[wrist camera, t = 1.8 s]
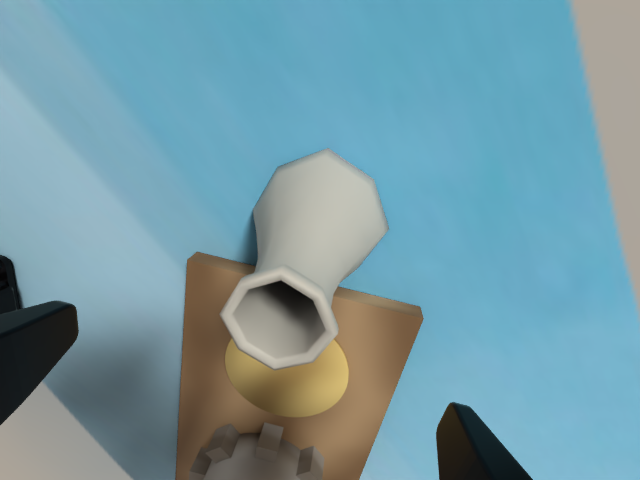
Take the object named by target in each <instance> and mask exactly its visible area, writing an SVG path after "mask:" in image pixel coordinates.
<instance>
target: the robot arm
mask: <svg viewBox="0 0 640 480" xmlns="http://www.w3.org/2000/svg"><path fill="white" fill-rule="evenodd" d="M78 332H79V330H78V320H77V310H76V307H75V306H74V305H73V304H70V303H66V302H62V301H51V302H47V303H43V304H39V305H35V306H31V307H28V308H24V309H20V308H19V302H18V297H17V291H16V286H15V280H14V275H13V269H12V264H11V262H10V260H9V259H8V258H7V257H5V256H2V255H0V425H1V424H2V423H3V422H4V421H5V420H6V419H7V418H8V417H9V416H10V415H11V414H12V413H13V412H14V411H15V410H16V409H17V408H18V407H19V406H20V405H21V404H22V403H23V402H24V400H26V398H27V397H28V396H29V395H30V394H31V393H32V392H33V390H34V389H35V388H36V387H37V386H38V385H39V383H40V382H41V381H42V380H43V379H44V378H45V376H46V375H47V374H48V373H49V372H50V371H51V369H52V368H53V367H54V366H55V365H56V363H57V362H58V361H59V360H60V359H61V358H62V356H63V355H64V354H65V353H66V352H67V351H68V349H69V348H70V347H71V346H72V345H73V343H74V342H75V340H76V339H77V336H78ZM436 440H437V454H438V467H439V480H533V479H532V478H531V477H530V476H529V475H528V473H527V472H526V471H525V470H524V469H523V468H522V466H521V465H520V464H519V463H518V462H517V461H516V459H515V458H514V457H513V456H512V455H511V454H510V452H509V451H508V450H507V449H506V448H505V447H504V445H503V444H502V443H501V442H500V441H499V440H498V438H497V437H496V436H495V435H494V434H493V433H492V432H491V430H490V429H489V428H488V427H487V426H486V425H485V423H484V422H483V421H482V420H481V419H480V418H479V416H478V415H477V414H476V413H475V412H474V411H473V410H472V409H471V408H470V407H469V406H467V405H463V404H459V403H455V402H452V403H450V404H449V405H448V406H447V408H446V410H445V412H444V414H443V416H442V418H441V420H440V422H439V424H438V427H437V432H436Z"/></svg>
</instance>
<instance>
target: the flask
mask: <svg viewBox="0 0 640 480" xmlns="http://www.w3.org/2000/svg"><path fill="white" fill-rule="evenodd" d="M253 216H254V222H255V227H256V234H257V248H258V261H257V264H256V268H255V272H254V273H253V274H249V275H246V276H244V277H243V278H241V280H240V281H239V283H238V284H237V286H236V288H235V289H234V291H233V292H232V294H231V296H230V297H229V299H228V301H227V302H226V304H225V305H224V307H223V309H222V310H221V312H220V313H219V315H220V317H221V319H222V321H223V322H224V324H225V326H226V328H227V330H228V332H229V334H230V335H231V337H232V339H233V341H234V343H235V345H236V347H237V348H238V350H240V351H242V352H244V353H245V354H247V355H249V356H250V357H252V358H254V359H255V360H257V361H259V362H261V363H262V364H264V365H266V366H267V367H269V368H271V369H272V370H274V371H275V370H280V369H285V368H289V367H294V366H299V365H304V364H308V363H313V362H314V361H315V360H316V359H317V358H318V357H319V355H320V354H321V353H322V352H323V351H324V350H325V348H326V347H327V346H328V345H329V344H330V343H331V341H332V340H333V339H334V338H335V337H336V335H337V334H338V331H339V328H338V324H337V321H336V319H335V316H334V314H333V312H332V309H331V305H332V300H333V295H334V292H335V291H336V289H337V287H338V285H339V283H340V282H341V281H342V280H343V279H345V278H346V277H347V276H349V275H350V274H351V273H352V272H354V271H355V270H356V269H357V268H358V267H359V266H360V265H361V264H362V262H363V261H364V260H365V259H366V257H367V256H368V255H369V254H370V252H371V251H372V250H373V249H374V247H375V246H376V245H377V244H378V242H379V241H380V240H381V239H382V237H383V236H384V235H385V234H386V232H387V231H388V230H389V226H388V223H387V220H386V217H385V214H384V210H383V207H382V204H381V201H380V198H379V194H378V191H377V188H376V185H375V182H374V179H373V178H371V177H370V176H368V175H367V174H365V173H364V172H362V171H361V170H359V169H358V168H356V167H355V166H354V165H352V164H351V163H349V162H348V161H346V160H345V159H343V158H342V157H340V156H339V155H337V154H336V153H335V152H333V151H332V150H330V149H329V148H327V149H324V150H321V151H319V152H316V153H313V154H311V155H308V156H305V157H303V158H300V159H297V160H295V161H292V162H289V163H287V164H284V165H281V166H279V167H277V169H276V171H275V172H274V174H273V176H272V178H271V179H270V181H269V183H268V184H267V186H266V188H265V190H264V191H263V193H262V195H261V197H260V198H259V200H258V202H257V203H256V205H255V207H254V209H253Z"/></svg>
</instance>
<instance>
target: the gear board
mask: <svg viewBox="0 0 640 480" xmlns="http://www.w3.org/2000/svg"><path fill="white" fill-rule="evenodd" d="M255 268H256V266H253V265H249V264H245V263H241V262H237V261H232V260H228V259H224V258H220V257H216V256H212V255H208V254H204V253H200V252H196V253H195V254H194V255H193V256H191V257H190V258H189V259H188V260H187V274H186V293H185V311H184V330H183V348H182V367H181V386H180V404H179V423H178V441H177V460H176V478H175V480H359V478H360V476H361V473H362V471H363V468H364V466H365V463H366V461H367V458H368V456H369V453H370V451H371V448H372V446H373V443H374V441H375V438H376V436H377V433H378V431H379V428H380V426H381V423H382V421H383V418H384V416H385V413H386V411H387V408H388V406H389V403H390V401H391V398H392V396H393V394H394V391H395V389H396V386H397V384H398V381H399V379H400V376H401V374H402V371H403V369H404V366H405V364H406V361H407V359H408V356H409V354H410V351H411V349H412V346H413V344H414V341H415V339H416V336H417V334H418V331H419V329H420V326H421V324H422V321H423V319H424V318H423V315H422V311H421V308H420V307H419V306H415V305H411V304H407V303H403V302H399V301H395V300H390V299H386V298H382V297H378V296H374V295H370V294H366V293H362V292H358V291H354V290H350V289H346V288H342V287H337V289H336V291H335V292H334V295H333V300H332V305H331V309H332V312H333V314H334V316H335V319H336V321H337V324H338V328H339V331H338V334H337V335H336V337H335V338H334V339H333V340H332V341H331V343H330V344H329V345H328V346H327V347H326V348H325V350H324V351H323V352H322V353H321V354H320V355H319V357H318V358H317V359H316V360H315V361H314V362H313V363H308V364H304V365H299V366H294V367H289V368H285V369H280V370H275V371H274V370H272V369H271V368H269V367H267V366H266V365H264V364H262V363H261V362H259V361H257V360H255V359H254V358H252V357H250V356H249V355H247V354H245V353H244V352H242V351H240V350H238V348H237V347H236V345H235V343H234V341H233V339H232V337H231V335H230V334H229V332H228V330H227V328H226V326H225V324H224V322H223V321H222V319H221V317H220V315H219V313H220V312H221V310H222V309H223V307H224V305H225V304H226V302H227V301H228V299H229V297H230V296H231V294H232V292H233V291H234V289H235V288H236V286H237V284H238V283H239V281H240V280H241V278H243V277H244V276H246V275H249V274H253V273H254V272H255Z"/></svg>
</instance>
